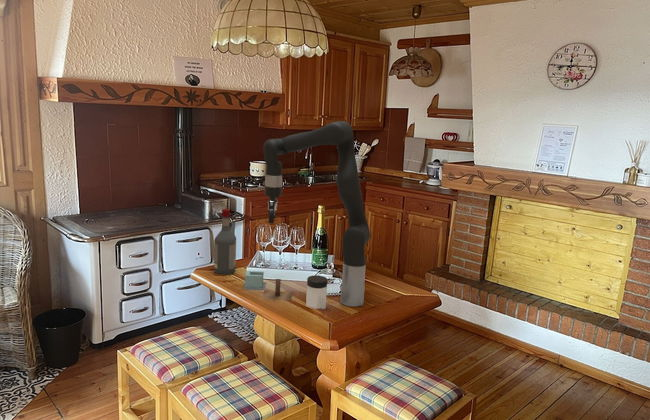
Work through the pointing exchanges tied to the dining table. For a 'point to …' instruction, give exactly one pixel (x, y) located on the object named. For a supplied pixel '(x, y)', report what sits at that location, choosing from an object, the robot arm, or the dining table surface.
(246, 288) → the trivet
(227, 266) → the liquor
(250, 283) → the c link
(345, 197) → the robot arm
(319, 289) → the jar
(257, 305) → the dining table surface
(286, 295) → the post stand
